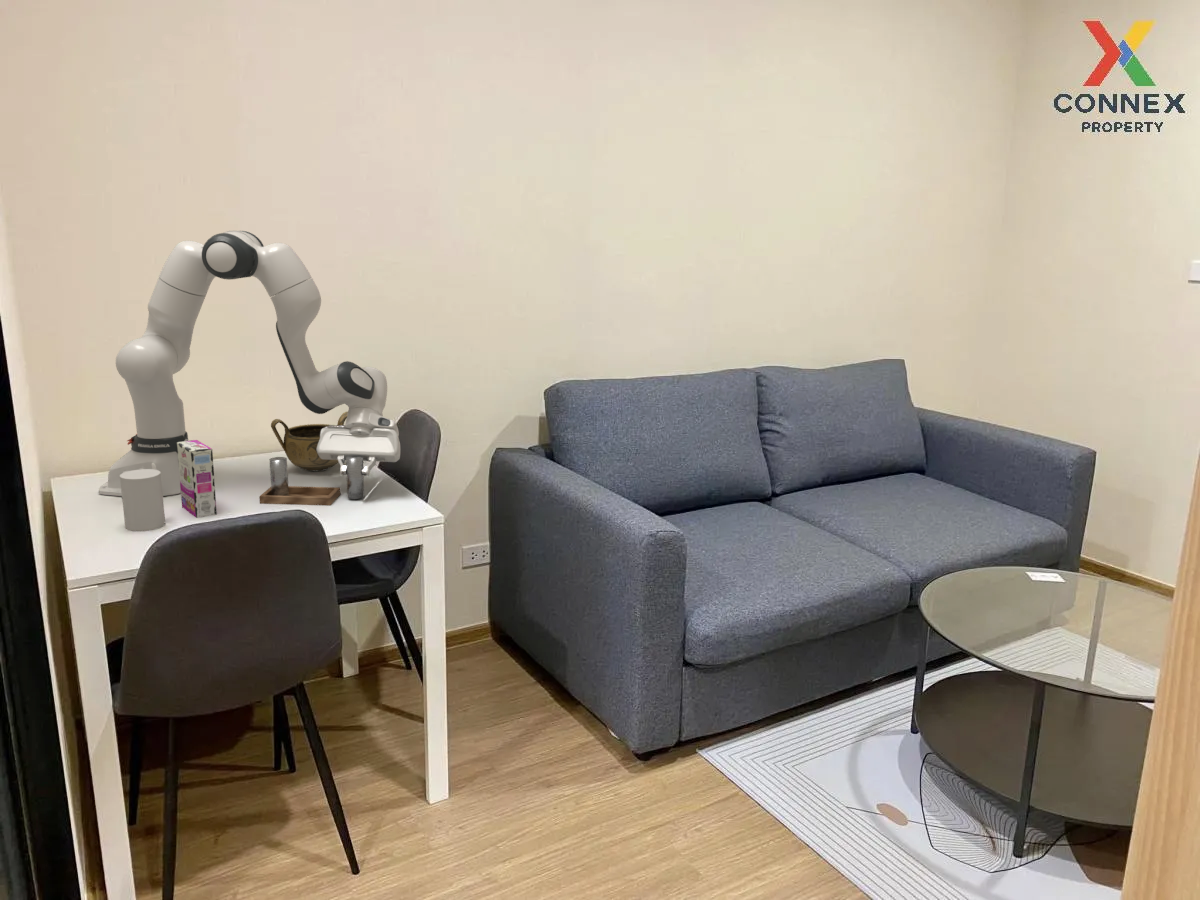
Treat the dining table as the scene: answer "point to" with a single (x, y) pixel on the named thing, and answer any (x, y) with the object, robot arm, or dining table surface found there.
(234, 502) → the dining table surface
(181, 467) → the candy bar box
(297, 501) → the tray
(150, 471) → the cup
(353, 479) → the cylinder
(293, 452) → the ceramic bowl
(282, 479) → the cylinder
